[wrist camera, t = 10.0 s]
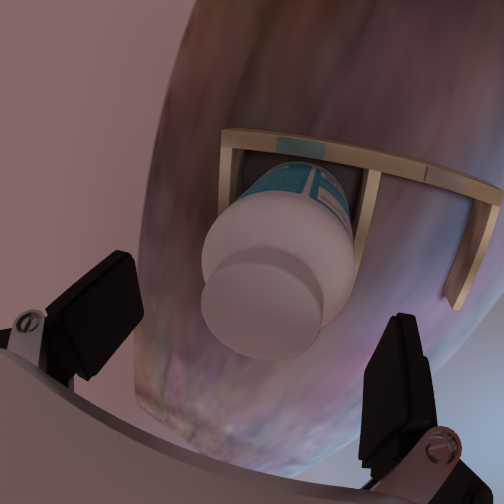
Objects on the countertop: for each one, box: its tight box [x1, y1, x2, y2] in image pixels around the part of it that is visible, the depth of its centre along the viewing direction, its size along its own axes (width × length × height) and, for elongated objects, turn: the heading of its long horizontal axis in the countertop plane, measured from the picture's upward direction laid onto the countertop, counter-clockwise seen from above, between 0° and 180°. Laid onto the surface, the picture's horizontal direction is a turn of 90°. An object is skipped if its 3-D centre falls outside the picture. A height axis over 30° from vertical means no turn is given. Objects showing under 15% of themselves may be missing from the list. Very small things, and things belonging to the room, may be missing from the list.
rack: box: [218, 128, 504, 311], centre depth 20 cm, size 10×20×3 cm, turn 86°
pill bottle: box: [201, 161, 356, 361], centre depth 16 cm, size 8×7×14 cm
